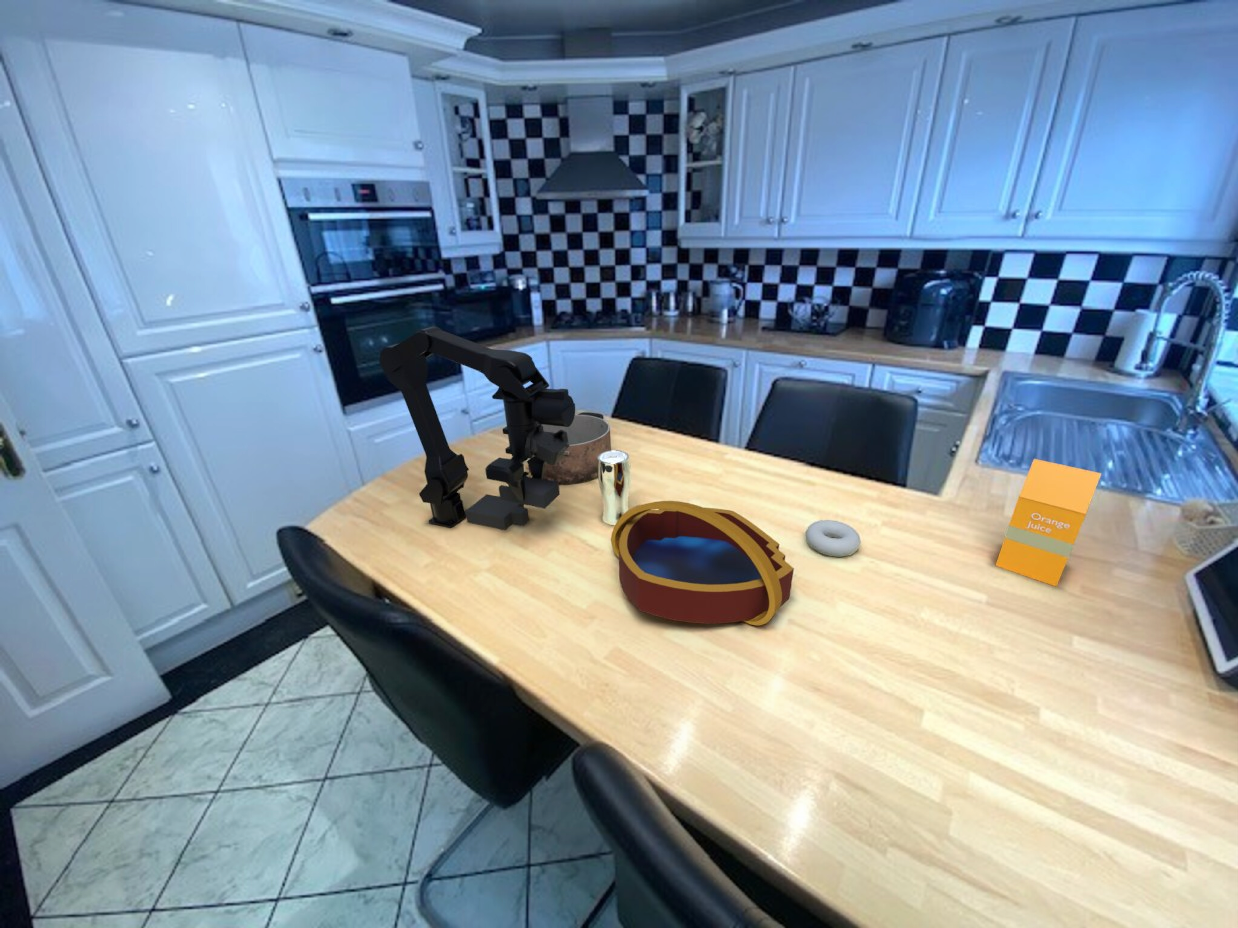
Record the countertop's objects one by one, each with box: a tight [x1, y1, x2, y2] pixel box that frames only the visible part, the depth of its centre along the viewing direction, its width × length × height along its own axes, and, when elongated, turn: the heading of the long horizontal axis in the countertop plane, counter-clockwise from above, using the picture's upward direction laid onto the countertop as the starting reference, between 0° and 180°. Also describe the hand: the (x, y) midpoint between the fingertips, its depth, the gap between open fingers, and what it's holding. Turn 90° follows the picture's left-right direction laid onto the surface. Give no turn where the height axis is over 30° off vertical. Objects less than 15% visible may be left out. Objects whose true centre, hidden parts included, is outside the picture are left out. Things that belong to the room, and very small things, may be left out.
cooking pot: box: [527, 411, 612, 485], centre depth 134 cm, size 30×22×11 cm
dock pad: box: [464, 494, 530, 531], centre depth 113 cm, size 13×8×3 cm, turn 68°
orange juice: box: [995, 458, 1102, 587], centre depth 87 cm, size 8×9×20 cm
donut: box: [805, 519, 861, 557], centre depth 98 cm, size 10×4×10 cm
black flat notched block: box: [498, 475, 561, 509], centre depth 103 cm, size 10×6×3 cm, turn 67°
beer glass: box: [597, 449, 632, 526], centre depth 108 cm, size 7×7×15 cm
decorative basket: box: [610, 500, 795, 626], centre depth 88 cm, size 34×29×15 cm
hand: (530, 493), depth 103 cm, fingers closed on black flat notched block, 6 cm apart
